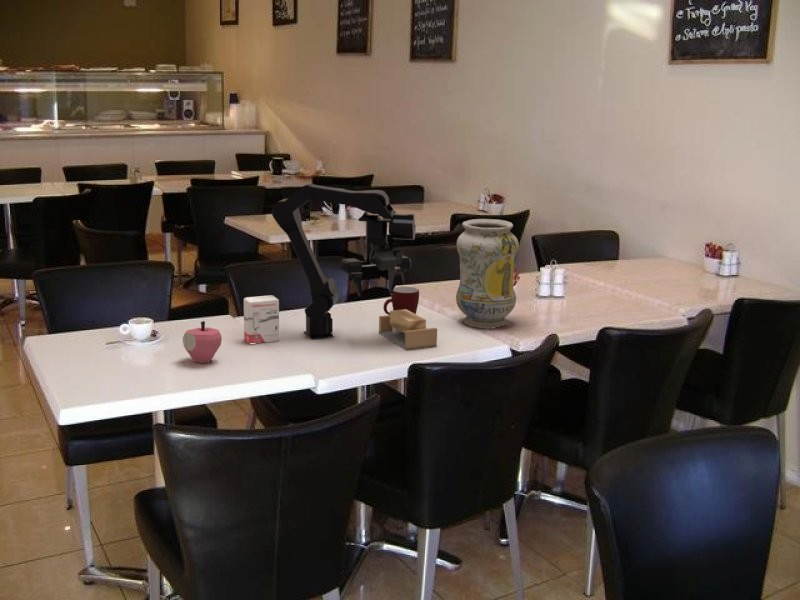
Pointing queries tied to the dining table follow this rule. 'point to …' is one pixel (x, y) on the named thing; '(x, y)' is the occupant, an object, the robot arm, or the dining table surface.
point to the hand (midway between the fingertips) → (375, 294)
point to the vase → (486, 272)
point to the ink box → (261, 319)
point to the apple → (202, 343)
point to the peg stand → (408, 335)
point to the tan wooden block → (406, 320)
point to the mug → (403, 299)
